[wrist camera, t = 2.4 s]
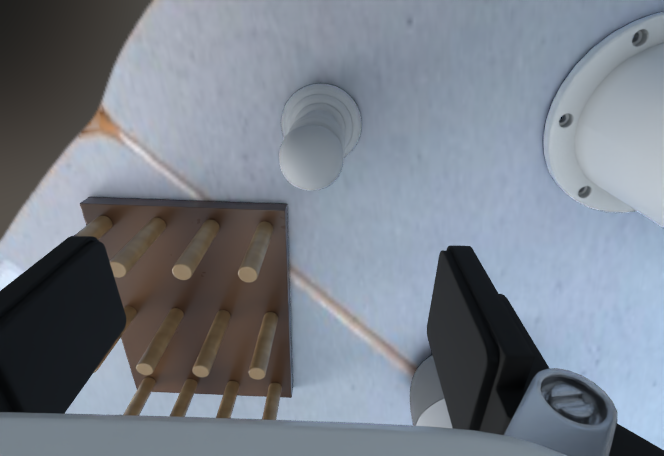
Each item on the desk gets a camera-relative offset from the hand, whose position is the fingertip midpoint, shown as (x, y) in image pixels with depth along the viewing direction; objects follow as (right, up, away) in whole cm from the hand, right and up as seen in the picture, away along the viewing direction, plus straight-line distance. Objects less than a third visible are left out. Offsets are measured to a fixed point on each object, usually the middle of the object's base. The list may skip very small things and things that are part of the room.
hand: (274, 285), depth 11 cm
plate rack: (-9, -5, +23) cm, 25 cm away
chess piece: (+1, +9, +15) cm, 18 cm away
